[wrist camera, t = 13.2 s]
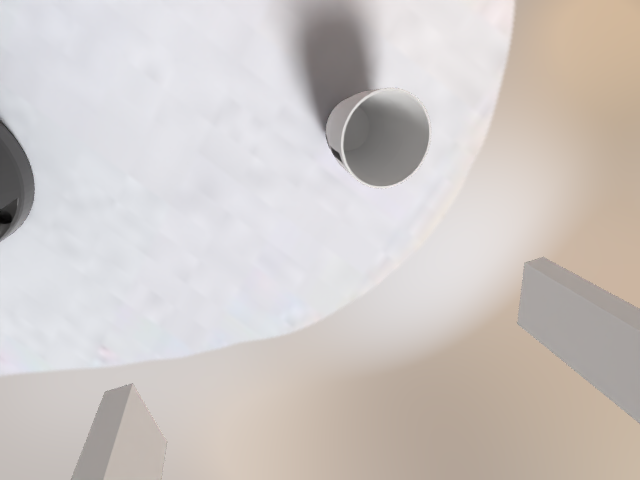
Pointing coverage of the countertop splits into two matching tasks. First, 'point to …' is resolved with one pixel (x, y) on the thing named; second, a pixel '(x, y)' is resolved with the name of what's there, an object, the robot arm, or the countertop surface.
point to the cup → (380, 136)
